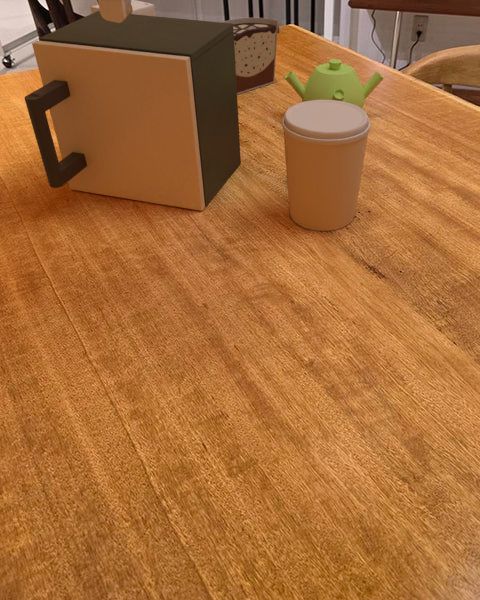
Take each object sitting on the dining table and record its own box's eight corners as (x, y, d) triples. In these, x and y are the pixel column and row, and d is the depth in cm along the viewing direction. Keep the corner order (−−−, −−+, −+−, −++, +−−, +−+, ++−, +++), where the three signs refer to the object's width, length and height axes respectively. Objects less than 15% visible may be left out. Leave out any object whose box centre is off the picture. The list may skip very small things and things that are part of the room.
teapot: (329, 96, 98) (332, 43, 93) (384, 116, 92) (390, 61, 87) (282, 115, 92) (281, 59, 87) (337, 137, 86) (340, 79, 81)
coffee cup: (372, 204, 71) (383, 107, 64) (344, 243, 65) (352, 140, 57) (302, 187, 74) (304, 93, 67) (268, 223, 68) (266, 122, 60)
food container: (257, 72, 107) (255, 12, 101) (280, 80, 104) (280, 20, 98) (203, 88, 101) (197, 25, 94) (225, 98, 97) (221, 34, 91)
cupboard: (206, 207, 70) (191, 54, 59) (75, 185, 74) (38, 38, 63) (241, 163, 79) (233, 23, 68) (123, 146, 83) (97, 10, 72)
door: (181, 237, 65) (159, 79, 54) (42, 212, 69) (-5, 59, 58) (205, 207, 70) (190, 56, 59) (74, 185, 74) (37, 40, 63)
